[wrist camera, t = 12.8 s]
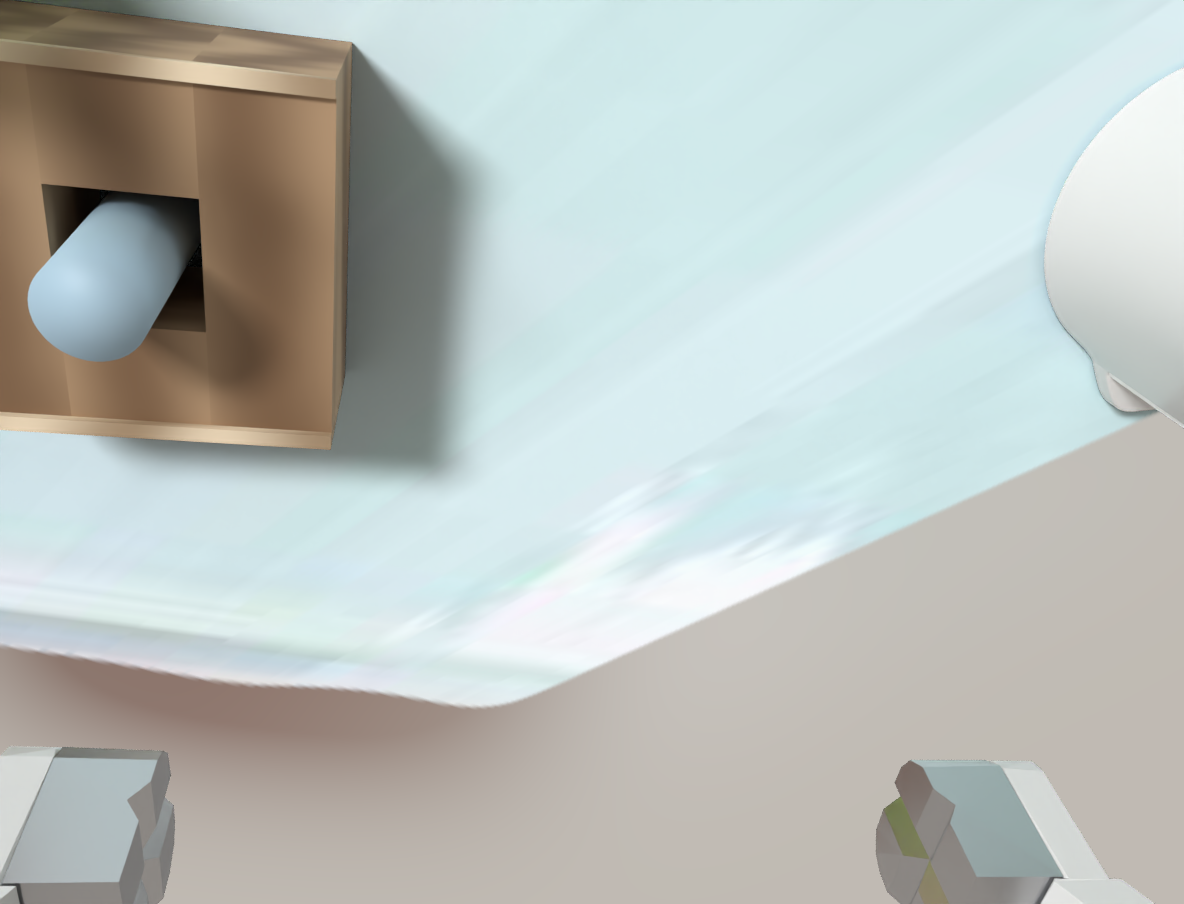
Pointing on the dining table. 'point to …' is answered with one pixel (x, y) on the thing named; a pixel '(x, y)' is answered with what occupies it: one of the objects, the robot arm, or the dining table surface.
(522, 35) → the dining table surface
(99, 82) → the socket block
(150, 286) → the dowel
